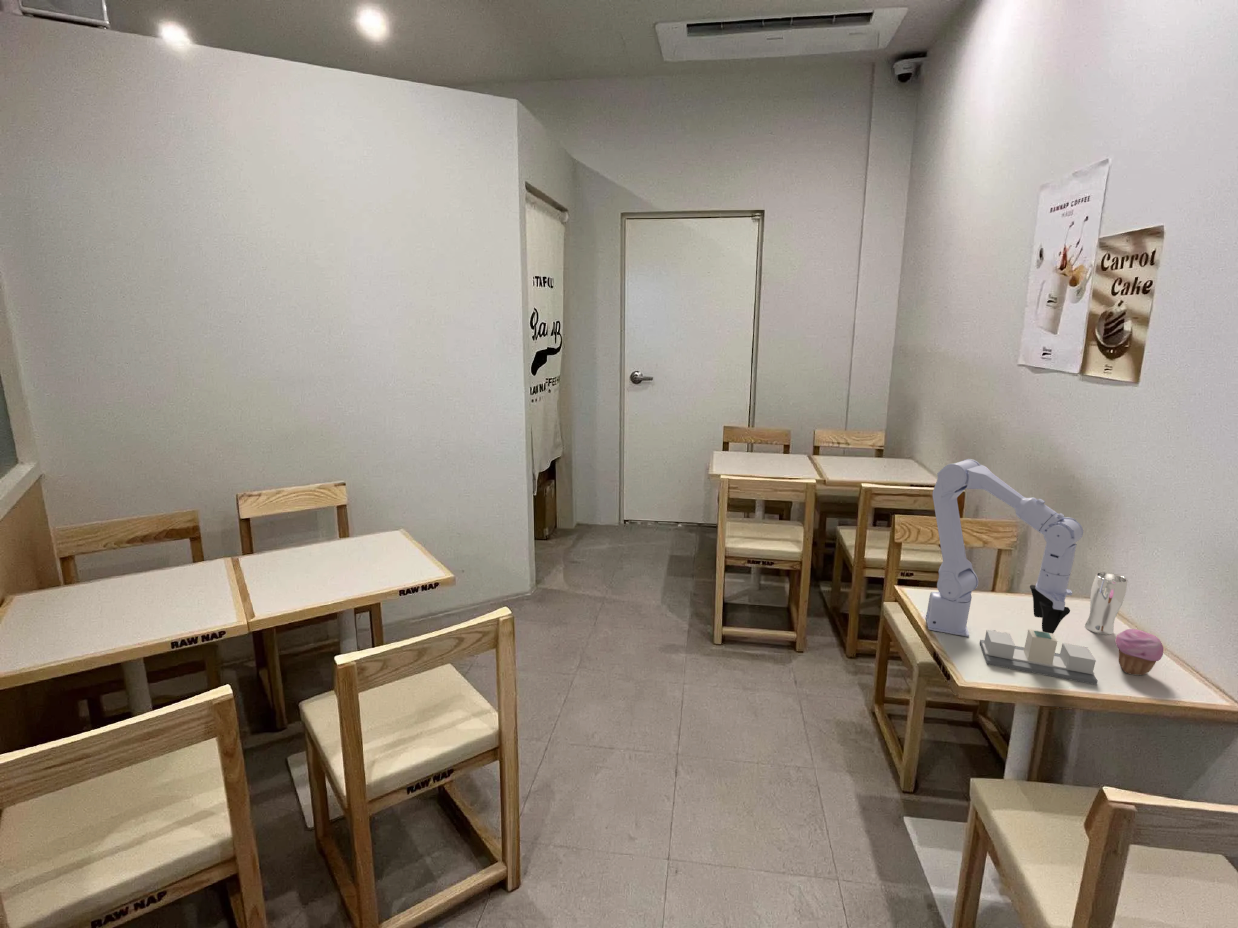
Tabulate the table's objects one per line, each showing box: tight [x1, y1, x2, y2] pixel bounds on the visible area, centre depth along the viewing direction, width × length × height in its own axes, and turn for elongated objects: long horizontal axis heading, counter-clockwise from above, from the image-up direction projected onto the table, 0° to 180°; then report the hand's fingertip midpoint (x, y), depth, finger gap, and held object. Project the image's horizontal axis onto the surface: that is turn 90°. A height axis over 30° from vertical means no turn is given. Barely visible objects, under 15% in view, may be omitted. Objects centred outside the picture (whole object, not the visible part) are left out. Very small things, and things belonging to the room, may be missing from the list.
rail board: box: [979, 629, 1099, 686], centre depth 153 cm, size 22×10×5 cm, turn 70°
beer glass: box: [1084, 571, 1129, 636], centre depth 168 cm, size 7×7×15 cm
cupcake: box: [1114, 628, 1164, 676], centre depth 150 cm, size 9×9×10 cm
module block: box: [1023, 628, 1058, 664], centre depth 152 cm, size 5×4×6 cm
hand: (1043, 624), depth 151 cm, fingers open, 7 cm apart
